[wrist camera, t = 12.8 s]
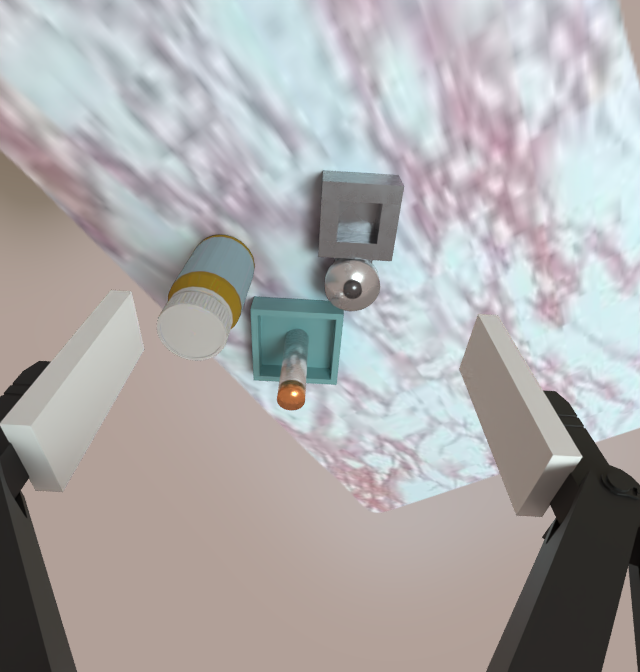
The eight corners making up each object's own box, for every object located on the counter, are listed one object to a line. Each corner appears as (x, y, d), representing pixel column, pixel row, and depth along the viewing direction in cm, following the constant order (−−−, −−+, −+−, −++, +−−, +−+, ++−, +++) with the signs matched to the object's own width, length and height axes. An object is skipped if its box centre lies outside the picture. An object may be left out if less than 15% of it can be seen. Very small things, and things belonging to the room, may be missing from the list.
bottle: (265, 276, 51) (245, 351, 38) (214, 294, 52) (179, 373, 40) (237, 223, 47) (205, 288, 35) (184, 245, 49) (134, 314, 36)
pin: (285, 328, 54) (277, 388, 45) (309, 329, 54) (305, 390, 45) (285, 346, 56) (276, 409, 46) (308, 348, 56) (304, 410, 46)
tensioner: (380, 293, 52) (384, 316, 47) (316, 289, 52) (315, 312, 47) (398, 175, 44) (406, 190, 39) (323, 170, 44) (322, 185, 39)
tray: (254, 296, 52) (250, 309, 50) (343, 301, 52) (343, 314, 50) (256, 365, 59) (253, 380, 56) (336, 370, 59) (336, 384, 56)
